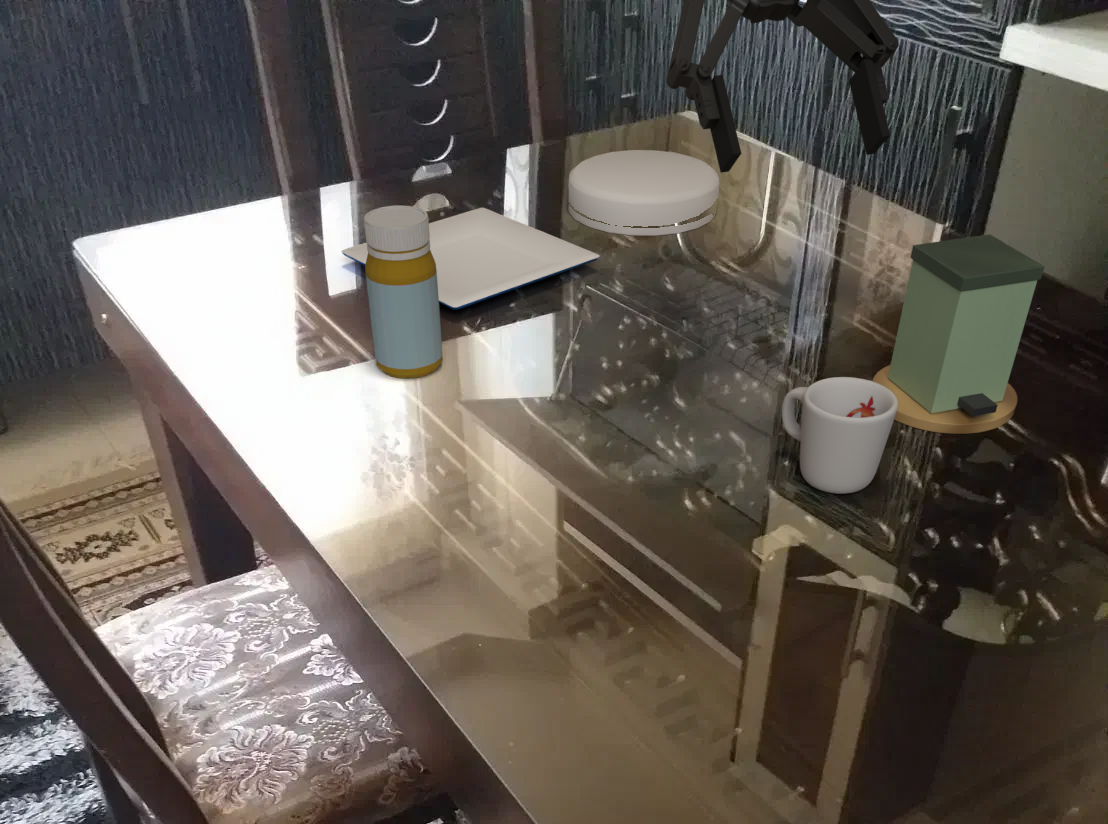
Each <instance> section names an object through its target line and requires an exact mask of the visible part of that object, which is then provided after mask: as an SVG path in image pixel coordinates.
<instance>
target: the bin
mask: <svg viewBox="0 0 1108 824" xmlns="http://www.w3.org/2000/svg"><path fill="white" fill-rule="evenodd" d="M910 259H911V260H912V263H911V266H910V271H909V277H908V281H907V286H906V290H905V295H904V300H903V305H902V310H901V314H900V318H899V319H900V320H899V323H898V328H897V332H896V338H895V342H894V347H893V351H892V355H891V356H892V357H891V361H890V364H889V365H890V370H889V375H888V378H889V379H890V380H891V381H892V382H894V383H895V384H896V385H897V386H898V387H900V388H901V389H902V390H903V391H905V392H906V393H907V394H908V395H909V396H911V397H912V398H913V399H914V400H915V401H917V402H918V403H919V404H920V405H922V406H923V407H924V408H925V409H926V410H928V411H929V412H930V413H937V412H943V411H948V410H954V409H959V408H962V409H964V410H965V411H966V412H967V413H969V414H970V415H971V416H978V415H984V414H989V413H995V412H996V409H997V406H998V405H997V404H996V403H995V402H998V401H1002V400H1003V397H1004V394H1005V390H1006V387H1007V383H1009V379H1010V377H1011V373H1012V369H1013V367H1014V362H1015V359H1016V355H1017V352H1018V349H1019V345H1020V342H1021V338H1022V334H1023V332H1024V328H1025V325H1026V322H1027V317H1028V314H1029V310H1030V307H1031V304H1032V300H1033V296H1034V293H1035V291H1036V286H1037V283H1038V281H1039V280H1040V281H1041V280H1042V277H1043V274H1044V270H1045V265H1043V264H1041V263H1039V262H1038V261H1036V260H1035V259H1033V258H1031V257H1030V256H1027V254H1024V253H1022V252H1021V251H1019V250H1018V249H1016V248H1014V247H1012V246H1011V245H1010V244H1007V243H1005V242H1004V241H1003V240H1001V239H999V238H997V237H995V236H994V235H993V234H982V235H976V236H975V235H974V236H968V237H962V238H953V239H947V240H940V241H933V242H925V243H918V244H913V245H912V248H911V253H910Z"/></svg>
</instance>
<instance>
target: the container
mask: <svg viewBox="0 0 1108 824" xmlns="http://www.w3.org/2000/svg"><path fill="white" fill-rule="evenodd" d="M719 194H720V178H719V174H718V173H717V171H716V170H715V169H714V168H712V167H711V166H710V165H709V164H708V163H707V162H706V161H703V160H700V159H698V158H696V157H694V156H690V155H686V154H682V153H677V152H673V151H664V150H656V149H629V150H619V151H618V150H617V151H610V152H606V153H601V154H596V155H594V156H591V157H588V158H587V159H584V160H582V161H581V162H579V163H578V164H577V165H576V166H575V167H574V168H573V169H571V170H570V172H569V174H568V203H569V202H570V203H571V205H572V206H573V207H574V209H575V210H577V211H579V212H580V213H582V214H584V215H586V216H587V217H589V218H591V219H595V220H597V221H602V222H604V223H607V224H604V223H601V222H597V221H593V220H590V219H587V218H585V217H583V216H581V215H580V214H578V213H576V212H575V211H574V210H573V209H572V208H571V207H570V206H569V204H567V205H568V207H567V208H568V211H567V212H568V213H569V214H570V215H571V217H572V218H573V220H574V221H577V222H578V223H580V224H582V225H584V226H586V227H588V228H591V229H595V230H598V231H602V232H605V233H610V234H617V235H624V236H639V237H640V236H641V237H643V236H644V237H645V236H650V237H656V236H657V237H658V236H666V235H675V234H681V233H685V232H689V231H692V230H696V229H699V228H701V227H703V226H705V225H707V224H709V223H710V222H712V220H713V219H714V218H715V217H716V215H714V216H713V215H712V214H710V215H708V216H706V217H704V218H702V219H700V220H698V221H695V222H691V223H687V224H683V225H678V226H669V227H660V228H631V227H633V226H642V227H648V226H663V225H671V224H674V223H679V222H682V221H685V220H688V219H690V218H693V217H696V216H699V215H700V214H701V213H703V212H704V211H705V210H707V209H708V208H710V207H711V206H712V205H713V204H714V202H715V201H716V199H717V198H718V199H719ZM608 224H610V225H608ZM615 225H617V226H615ZM623 226H631V227H623Z"/></svg>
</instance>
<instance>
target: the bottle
mask: <svg viewBox="0 0 1108 824" xmlns="http://www.w3.org/2000/svg"><path fill="white" fill-rule="evenodd" d="M429 219H430V218H429V216H428V213H427V211H426V210H424V209H422V208H420V207H417V206H412V205H387V206H383V207H382V206H381V207H377V208H374V209H372V210H370V211H368V212H367V213H366V214H365V215H364V219H363V223H364V224H363V225H364V233H365V241H366V243H367V251H368V255H367V260H366V264H365V265H364V269H365V273H364V274H365V281H366V289H367V291H366V292H367V300H368V307H369V316H370V324H371V325H370V327H371V334H372V343H373V351H374V358H375V365H376V366H377V368H378V369H380V370H381V371H382V372H383V373H384V374H385V375H387V376H389V377H393V378H396V379H409V380H410V379H417V378H422V377H426V376H429V375H431V374H433V373H434V372H435V371H436V370H437V369H438V368H439V366H440V365H441V364H442V362H443V340H442V327H441V313H440V311H441V310H440V303H439V297H438V283H437V270H436V263H435V260H434V258H433V255H432V253H431V251H430V240H429V238H430V233H429V223H430V220H429Z"/></svg>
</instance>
